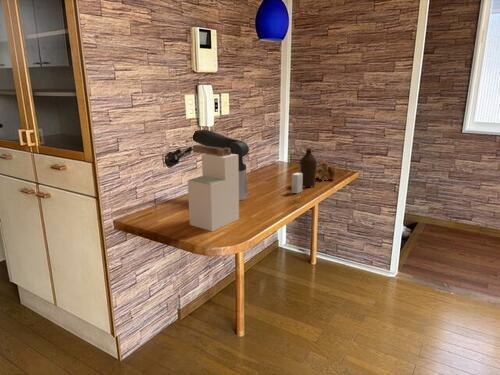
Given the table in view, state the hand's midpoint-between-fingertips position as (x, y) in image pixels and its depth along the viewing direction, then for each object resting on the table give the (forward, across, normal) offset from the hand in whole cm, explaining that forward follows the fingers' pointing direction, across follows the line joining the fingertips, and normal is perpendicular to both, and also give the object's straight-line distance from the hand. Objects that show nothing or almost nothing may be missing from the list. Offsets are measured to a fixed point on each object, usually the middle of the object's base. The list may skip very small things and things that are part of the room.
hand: (186, 149), depth 197 cm
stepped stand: (+10, -13, +42) cm, 45 cm away
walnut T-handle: (+21, -8, +11) cm, 25 cm away
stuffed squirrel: (+18, +95, +46) cm, 107 cm away
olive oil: (+16, +72, +45) cm, 87 cm away
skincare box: (+17, +54, +46) cm, 73 cm away
